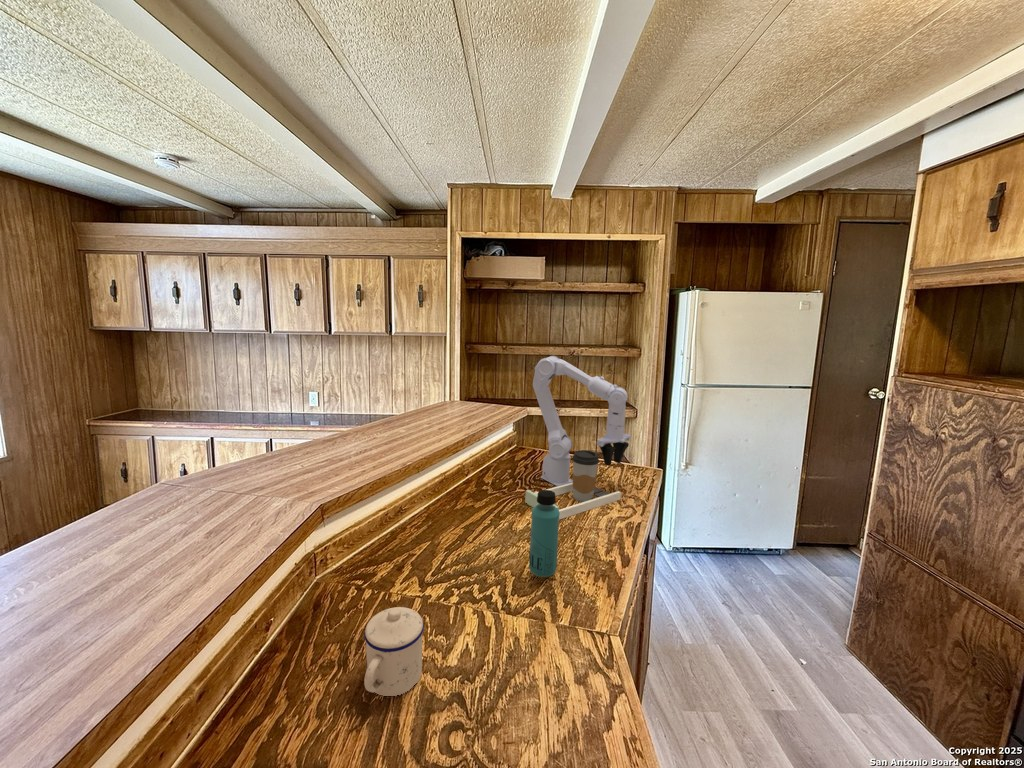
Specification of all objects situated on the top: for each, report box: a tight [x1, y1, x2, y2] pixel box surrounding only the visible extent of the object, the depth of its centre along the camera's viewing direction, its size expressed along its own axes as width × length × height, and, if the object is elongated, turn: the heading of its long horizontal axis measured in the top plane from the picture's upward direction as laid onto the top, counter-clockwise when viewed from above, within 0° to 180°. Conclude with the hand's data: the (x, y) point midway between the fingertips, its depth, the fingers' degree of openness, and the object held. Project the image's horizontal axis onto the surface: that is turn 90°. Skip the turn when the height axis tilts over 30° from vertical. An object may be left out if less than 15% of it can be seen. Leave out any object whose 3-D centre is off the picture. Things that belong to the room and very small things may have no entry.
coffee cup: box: [572, 449, 600, 503], centre depth 141 cm, size 8×8×15 cm
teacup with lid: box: [363, 606, 425, 697], centre depth 69 cm, size 12×9×12 cm
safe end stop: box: [524, 489, 560, 510], centre depth 131 cm, size 14×1×4 cm, turn 36°
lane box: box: [534, 482, 622, 521], centre depth 139 cm, size 14×28×2 cm, turn 126°
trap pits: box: [593, 486, 611, 498], centre depth 146 cm, size 11×5×1 cm, turn 36°
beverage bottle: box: [528, 489, 560, 578], centre depth 98 cm, size 6×7×20 cm
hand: (612, 463), depth 148 cm, fingers open, 4 cm apart
